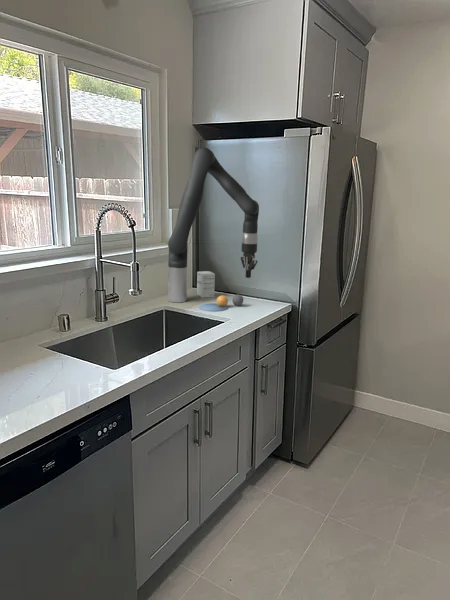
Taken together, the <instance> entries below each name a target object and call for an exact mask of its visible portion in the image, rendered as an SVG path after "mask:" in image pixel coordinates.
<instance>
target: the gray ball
mask: <svg viewBox="0 0 450 600" xmlns="http://www.w3.org/2000/svg"><path fill="white" fill-rule="evenodd" d="M231 299H232V300H231V301H232V304H233V305H234V306H237V307H239V306H242V305H243V304H244V297H243V296H242V295H241V294H234V295H233V297H232V298H231Z"/></svg>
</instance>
